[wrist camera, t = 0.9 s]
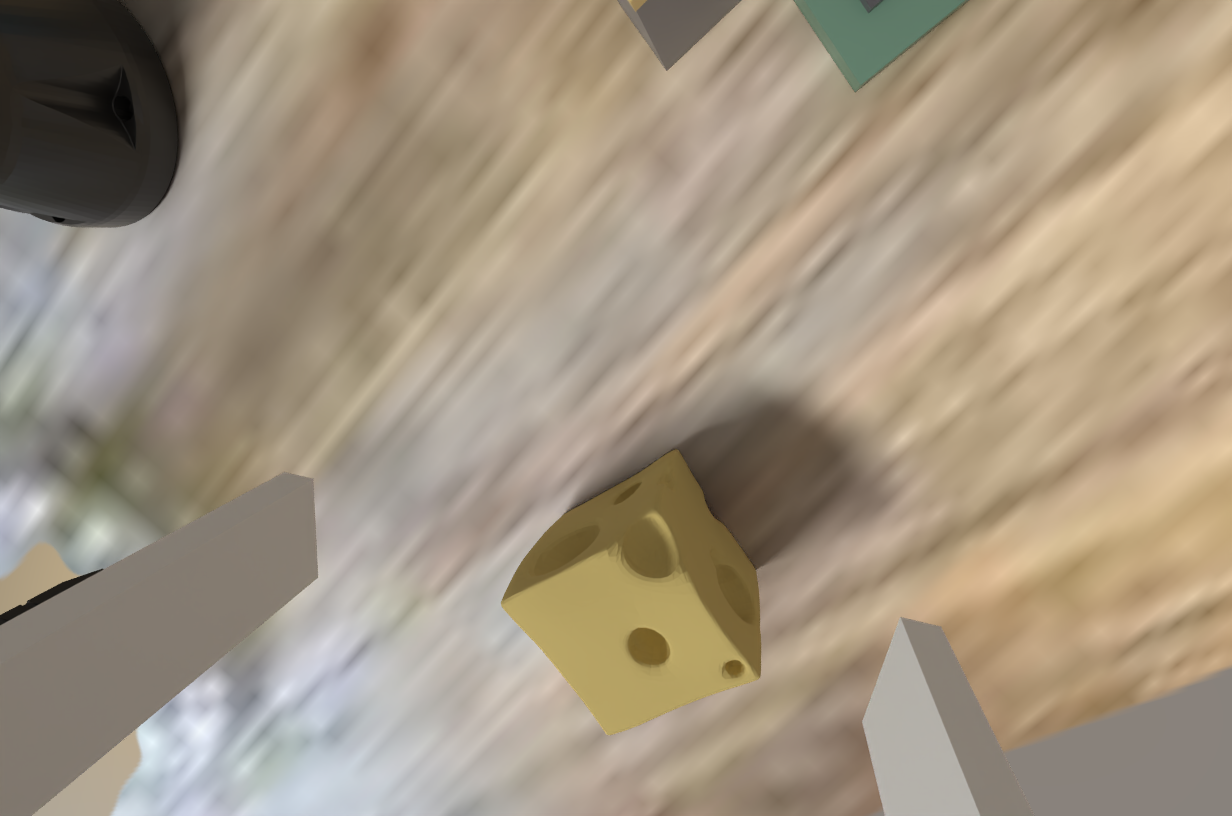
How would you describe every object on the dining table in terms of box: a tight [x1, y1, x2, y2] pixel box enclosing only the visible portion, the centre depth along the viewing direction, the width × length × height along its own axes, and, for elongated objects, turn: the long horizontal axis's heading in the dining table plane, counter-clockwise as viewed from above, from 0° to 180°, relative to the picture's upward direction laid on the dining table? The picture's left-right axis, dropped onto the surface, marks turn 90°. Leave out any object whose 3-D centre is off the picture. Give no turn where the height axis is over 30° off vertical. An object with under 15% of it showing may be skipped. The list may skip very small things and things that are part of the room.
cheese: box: [501, 449, 761, 735], centre depth 34 cm, size 10×11×10 cm
